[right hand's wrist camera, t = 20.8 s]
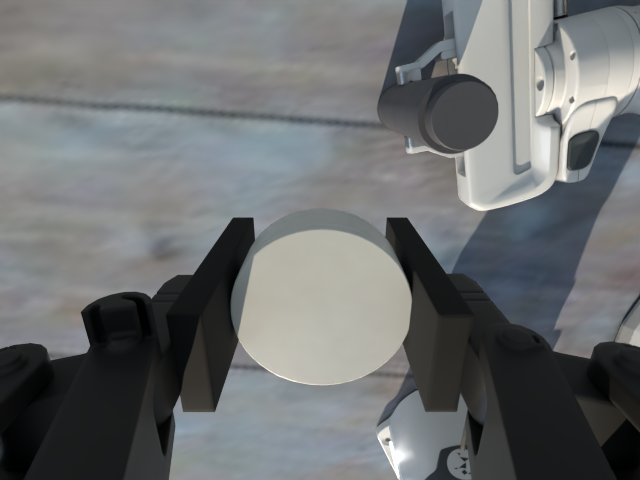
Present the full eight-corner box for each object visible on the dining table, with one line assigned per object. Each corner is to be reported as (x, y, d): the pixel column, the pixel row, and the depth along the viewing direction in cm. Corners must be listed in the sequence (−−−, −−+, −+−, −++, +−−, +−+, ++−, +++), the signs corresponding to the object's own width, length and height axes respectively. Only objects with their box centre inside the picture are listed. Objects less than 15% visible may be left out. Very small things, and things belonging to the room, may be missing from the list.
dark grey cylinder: (422, 125, 39) (507, 150, 21) (380, 133, 39) (427, 164, 21) (418, 80, 37) (506, 63, 19) (374, 89, 38) (419, 81, 19)
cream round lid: (237, 206, 11) (222, 226, 9) (407, 208, 11) (423, 229, 9) (247, 347, 13) (236, 384, 11) (393, 348, 13) (404, 386, 11)
